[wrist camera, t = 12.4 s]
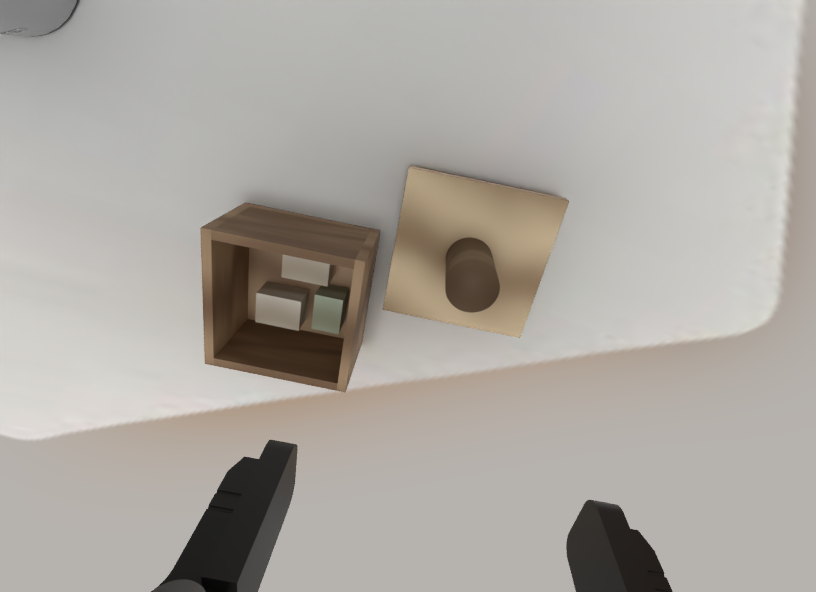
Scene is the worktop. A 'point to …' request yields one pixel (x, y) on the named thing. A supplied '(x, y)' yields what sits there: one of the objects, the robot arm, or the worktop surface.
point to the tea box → (286, 294)
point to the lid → (470, 251)
